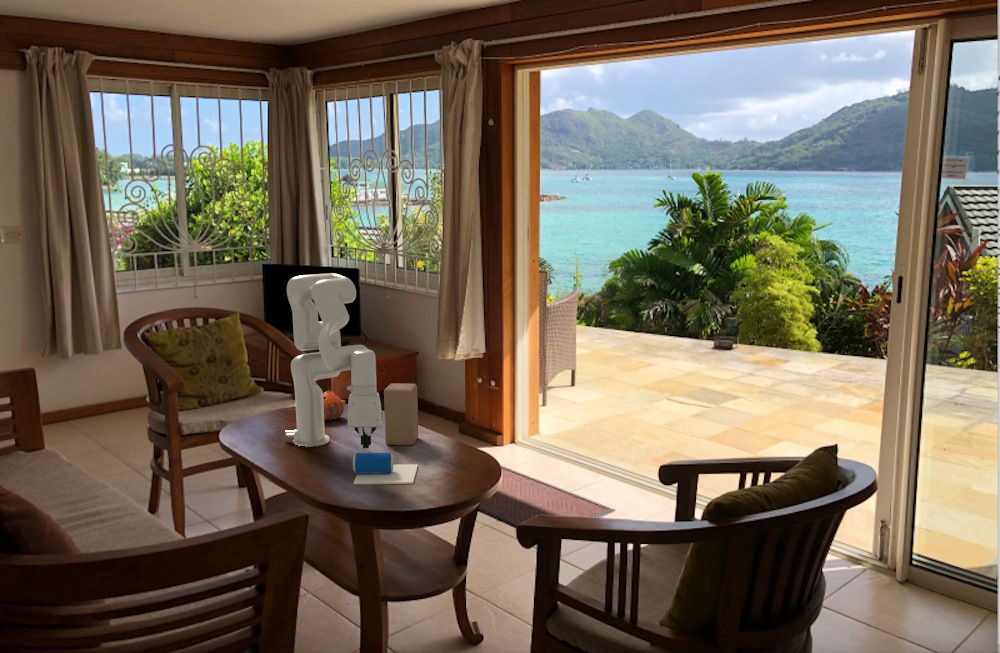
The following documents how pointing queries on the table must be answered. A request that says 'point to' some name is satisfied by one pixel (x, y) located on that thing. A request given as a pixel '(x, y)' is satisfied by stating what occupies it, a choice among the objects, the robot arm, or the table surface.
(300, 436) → the robot arm
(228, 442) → the table surface
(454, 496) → the table surface
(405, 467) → the mat
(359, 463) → the beverage can
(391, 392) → the wooden block
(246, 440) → the table surface
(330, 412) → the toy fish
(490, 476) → the table surface
